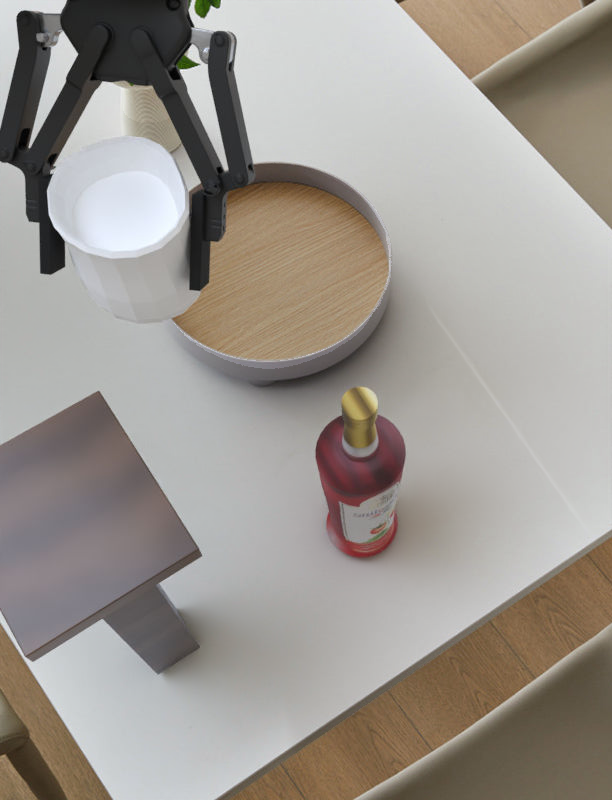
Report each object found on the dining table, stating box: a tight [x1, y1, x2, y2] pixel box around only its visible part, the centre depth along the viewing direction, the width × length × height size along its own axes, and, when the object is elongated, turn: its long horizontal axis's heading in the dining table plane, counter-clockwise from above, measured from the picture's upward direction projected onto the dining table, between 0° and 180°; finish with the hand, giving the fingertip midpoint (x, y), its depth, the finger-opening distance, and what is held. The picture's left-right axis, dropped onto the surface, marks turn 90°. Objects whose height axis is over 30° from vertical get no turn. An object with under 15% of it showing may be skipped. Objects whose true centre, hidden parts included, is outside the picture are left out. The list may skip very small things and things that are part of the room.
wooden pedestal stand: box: [0, 390, 203, 675], centre depth 78 cm, size 13×12×35 cm
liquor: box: [314, 386, 407, 558], centre depth 86 cm, size 7×7×28 cm
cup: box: [47, 135, 203, 325], centre depth 71 cm, size 10×10×10 cm
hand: (126, 278), depth 71 cm, fingers closed on cup, 10 cm apart
